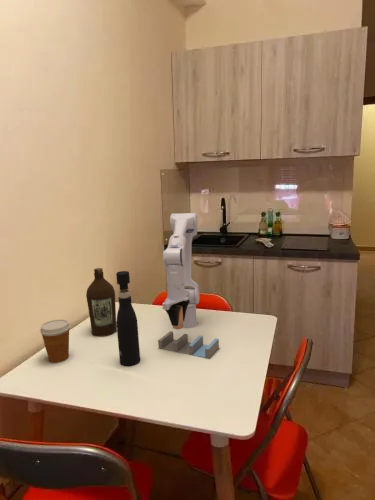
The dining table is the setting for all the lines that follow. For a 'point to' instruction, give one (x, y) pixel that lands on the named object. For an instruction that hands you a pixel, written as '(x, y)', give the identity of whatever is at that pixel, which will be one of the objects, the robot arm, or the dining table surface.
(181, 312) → the tan rounded cylinder
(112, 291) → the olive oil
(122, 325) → the wine bottle
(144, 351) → the dining table surface
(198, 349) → the grey slotted rack
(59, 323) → the disposable coffee cup
